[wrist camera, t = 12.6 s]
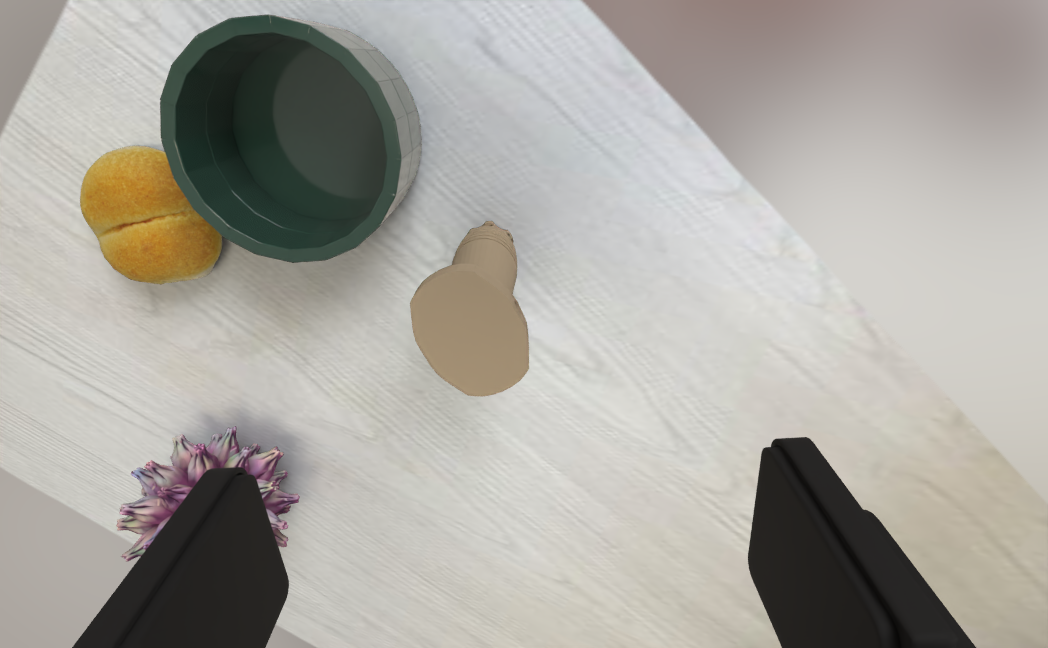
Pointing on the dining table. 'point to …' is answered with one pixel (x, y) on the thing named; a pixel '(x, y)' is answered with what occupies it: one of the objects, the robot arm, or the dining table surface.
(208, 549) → the robot arm
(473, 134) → the dining table surface
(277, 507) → the flower
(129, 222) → the bread roll
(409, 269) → the dining table surface
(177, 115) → the pot
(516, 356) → the handle
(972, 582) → the dining table surface
